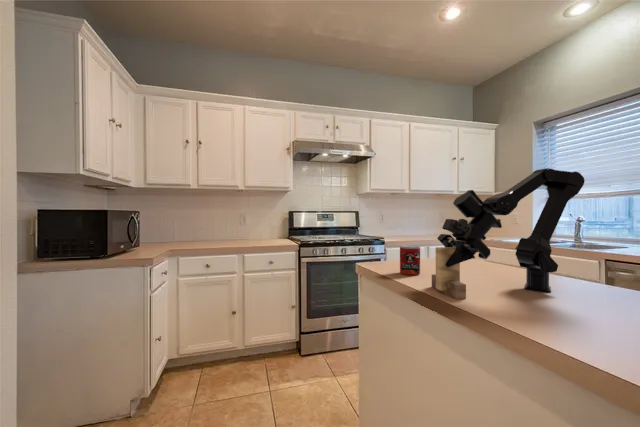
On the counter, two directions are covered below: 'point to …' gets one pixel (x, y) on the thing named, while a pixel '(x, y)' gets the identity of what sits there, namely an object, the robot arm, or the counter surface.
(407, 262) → the canned food
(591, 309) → the counter surface
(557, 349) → the counter surface
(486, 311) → the counter surface
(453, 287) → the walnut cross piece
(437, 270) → the beige tall block
